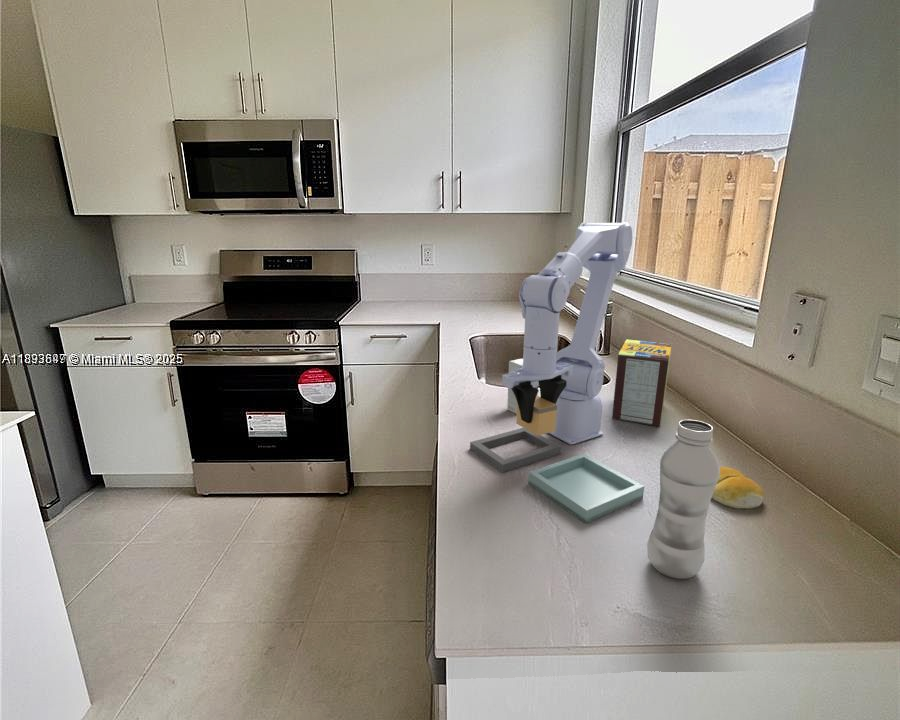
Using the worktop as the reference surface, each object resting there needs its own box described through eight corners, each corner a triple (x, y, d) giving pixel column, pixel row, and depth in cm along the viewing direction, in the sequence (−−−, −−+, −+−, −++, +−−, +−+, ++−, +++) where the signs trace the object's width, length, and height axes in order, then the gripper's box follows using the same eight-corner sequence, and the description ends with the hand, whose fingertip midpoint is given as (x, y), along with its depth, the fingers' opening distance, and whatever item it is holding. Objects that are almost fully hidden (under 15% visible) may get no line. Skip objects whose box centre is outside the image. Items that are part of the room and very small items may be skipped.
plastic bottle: (635, 552, 64) (654, 415, 58) (683, 550, 64) (706, 413, 59) (660, 588, 57) (683, 438, 52) (712, 584, 58) (741, 436, 52)
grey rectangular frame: (525, 433, 100) (525, 426, 99) (560, 453, 91) (561, 446, 91) (470, 449, 93) (470, 442, 92) (502, 472, 84) (502, 464, 84)
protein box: (663, 404, 116) (672, 343, 112) (660, 427, 103) (669, 359, 98) (619, 397, 120) (625, 338, 116) (610, 419, 107) (617, 353, 103)
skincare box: (518, 415, 109) (520, 365, 106) (506, 409, 113) (507, 360, 109) (538, 409, 112) (540, 361, 109) (525, 404, 116) (527, 356, 112)
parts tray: (582, 464, 87) (583, 453, 86) (642, 498, 76) (644, 486, 76) (528, 483, 80) (529, 472, 80) (585, 523, 70) (587, 510, 69)
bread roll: (732, 479, 82) (736, 458, 81) (771, 508, 74) (776, 486, 73) (688, 482, 82) (691, 461, 80) (723, 512, 73) (727, 489, 72)
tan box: (533, 419, 89) (534, 394, 88) (555, 430, 84) (557, 404, 83) (516, 423, 87) (517, 398, 86) (537, 435, 82) (539, 409, 81)
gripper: (556, 336, 88) (551, 404, 92) (492, 345, 81) (490, 418, 85) (583, 344, 82) (577, 416, 86) (518, 355, 75) (514, 433, 79)
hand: (536, 418), depth 85 cm, fingers closed on tan box, 4 cm apart
